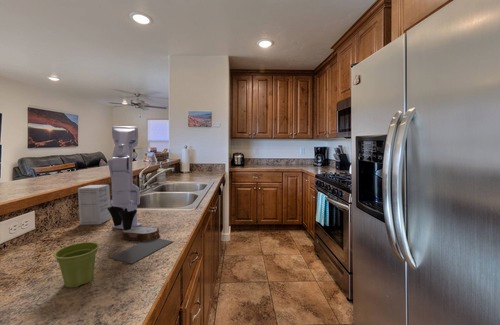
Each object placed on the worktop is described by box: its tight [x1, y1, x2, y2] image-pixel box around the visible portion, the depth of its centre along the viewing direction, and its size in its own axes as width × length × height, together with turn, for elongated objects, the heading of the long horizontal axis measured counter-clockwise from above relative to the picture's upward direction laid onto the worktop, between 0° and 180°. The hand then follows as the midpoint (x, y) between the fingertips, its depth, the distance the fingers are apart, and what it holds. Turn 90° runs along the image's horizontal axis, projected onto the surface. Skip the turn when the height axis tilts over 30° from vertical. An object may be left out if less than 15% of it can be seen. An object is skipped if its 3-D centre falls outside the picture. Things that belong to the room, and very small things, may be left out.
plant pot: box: [53, 241, 100, 289], centre depth 62 cm, size 9×9×9 cm
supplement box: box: [77, 184, 112, 226], centre depth 112 cm, size 10×9×17 cm
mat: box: [108, 237, 174, 265], centre depth 82 cm, size 10×18×1 cm, turn 157°
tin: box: [120, 225, 160, 242], centre depth 94 cm, size 15×3×8 cm
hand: (122, 227), depth 87 cm, fingers open, 7 cm apart
